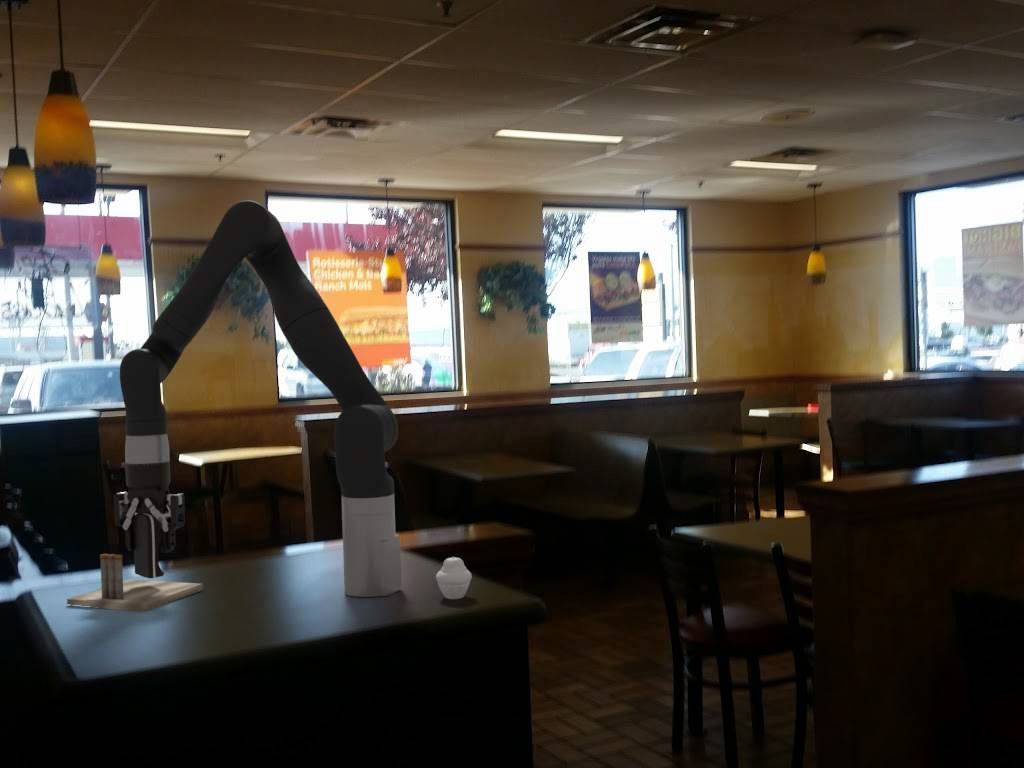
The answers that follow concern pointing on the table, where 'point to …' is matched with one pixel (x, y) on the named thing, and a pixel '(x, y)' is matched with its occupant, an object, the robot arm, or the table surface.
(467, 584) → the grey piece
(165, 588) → the board
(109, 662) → the table surface
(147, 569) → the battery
